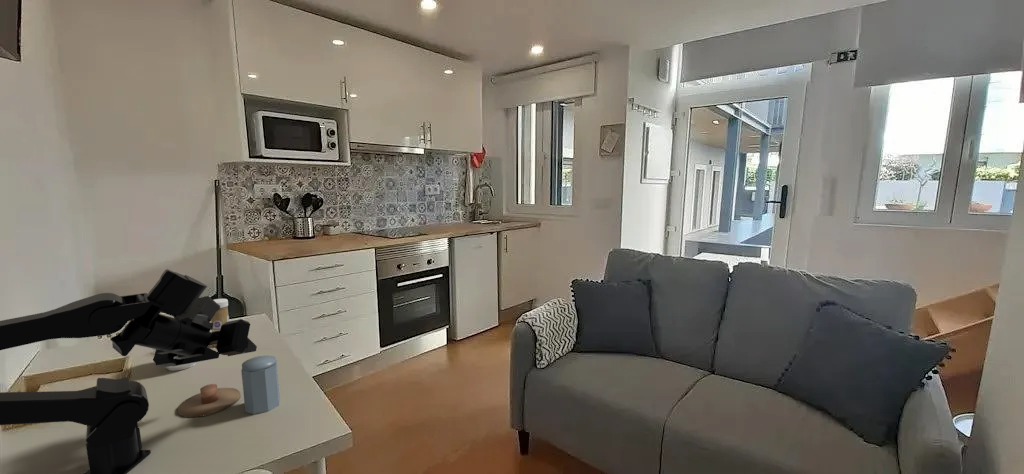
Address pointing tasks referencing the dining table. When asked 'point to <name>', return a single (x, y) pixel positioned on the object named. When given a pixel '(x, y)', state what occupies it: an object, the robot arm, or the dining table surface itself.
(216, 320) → the sprinkles bottle
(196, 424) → the dining table surface
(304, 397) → the dining table surface
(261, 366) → the blue dome cap nut
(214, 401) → the brown pegged disc
